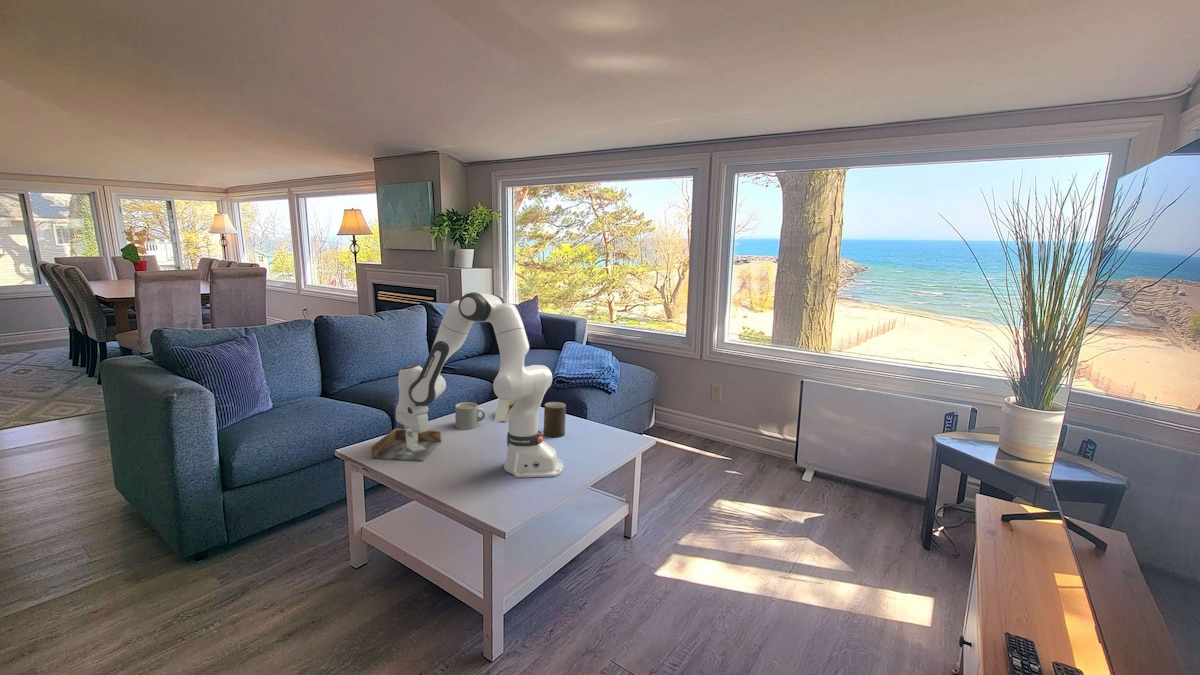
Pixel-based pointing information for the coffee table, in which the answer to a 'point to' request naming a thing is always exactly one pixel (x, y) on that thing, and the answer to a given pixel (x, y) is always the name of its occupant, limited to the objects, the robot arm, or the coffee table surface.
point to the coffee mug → (467, 415)
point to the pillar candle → (554, 419)
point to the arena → (396, 450)
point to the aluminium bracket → (412, 443)
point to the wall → (503, 410)
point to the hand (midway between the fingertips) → (411, 437)
